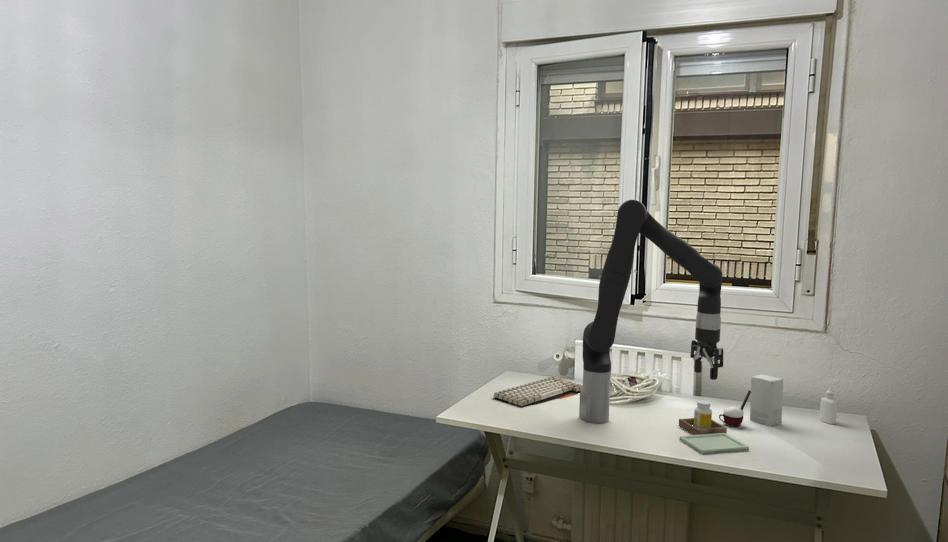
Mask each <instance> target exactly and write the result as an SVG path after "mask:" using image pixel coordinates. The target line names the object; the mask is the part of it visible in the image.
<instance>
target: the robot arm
mask: <svg viewBox="0 0 948 542" xmlns="http://www.w3.org/2000/svg"><path fill="white" fill-rule="evenodd" d="M616 215H617V216H616V223H615V229H614V234H613V238H612V242H611V243H610V247H609V249H608V252H607V255H606V259H605V262H604V264H603V267H602V271H601V275H600V279H599V285H598V296H597V297H598V298H597V299H598V300H597V301H598V302H597V307H596V308H597V309H596V313H595V316H594V319H593V321H592V322H589V323H588V324H587V325H586V326H585V328H584V330H583V334H582V364H583V366H582V367H583V369H582V370H583V371H582V385H583V389H582V390H580V394H579V405H578V406H579V407H578V411H579V412H578V417H579V418H580V419H581V420H583V421H584V422H585V423H592V424H604V423H608V422H609V421H610V402H611V401H610V400H611V399H610V398H611V397H610V396H611V378H612V362H611V354H610V353H611V352H610V351H611V350H610V349H611V348H612V346H613V345H614V342H615V340H616V339H615V338H616V332H617V325H618V320H619V314H620V312H621V309H622V306H623V303H624V299H625V295H626V292H627V290H628V287H629V283H630V279H631V275H632V270H633V265H634V258H635V247H636V244H637V241H638V237H639V234H640V235H642V236H643V237H645V238H646V239H648V240H649V241H650V242H652V243H653V244H654V245H655V246H656V247H657V248H658V249H659V250H661V251H662V253H664V254H665V255H666V256H667V257H669V258H670V260H672V261H674V262H675V263H676V264H677V265H678V266H680V267H681V268H682V269H684V270H686V271H687V272H688V273H689V274H690V275H691V276H692V277H693V278H694V279H695V280H696V281H697V282H698V283H699V285H698V287H699V288H698V289H699V290H698V292H699V294H698V299H697V307H696V308H697V309H696V312H697V313H696V317H695V331H694V333H695V335H694V339H693V340H691V343H690V344H691V345H690V354H689V355H690V358H691V359H693V361H694V365H693V368H694V369H693V372H694V373H695V374H698V373H699V374H701V373H702V370H703V369H702V366H703V365H702V364H703V358H705V359H706V361H707V362H708V364H709V367H710V369H709V379H710V380H711V381H713V380H714V381H716V380H717V379H718V375H719V369H720V368H724V349H723V348H720V347H717V344H718V343H719V342H720V341H721V325H722V317H721V313H722V312H721V309H722V308H721V307H722V303H721V302H722V300H721V299H722V298H721V295H722V294H721V292H722V285H723V284H722V282H723V270H722V269H721V267H719V265H717V264H714V263H711V262H710V260H708V259H706V258H705V257H704V256H702V255H701V253H700V252H699V251H698V250H697V249H696V248H695V247H693V246H692V245H691V244H690V243H687V242H686V241H685V240H684V239H683V238H681V237H680V236H678V235H676V234H675V233H674V232H672V231H670V230H669V229H668V228H666V227H665V226H663V224H661V223H660V222H659V221H658V220H657V219H655V218H654V216H653V215H652V214H651V213H650V212H649V211H648V210H647V207H646V206H645V205H644V203H642V201H640V200H637V199H628V200H625V201H624V202H623V203H621V204H620V205H619V207H618V210H617V214H616Z"/></svg>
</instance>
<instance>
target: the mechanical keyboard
mask: <svg viewBox="0 0 948 542" xmlns="http://www.w3.org/2000/svg"><path fill="white" fill-rule="evenodd" d="M582 389H583V384H582V383H577V382H576V381H575V382H574V381H573V382H572V381H571V380H568V379H563V378H562V377H557V376H551V377H547V378H543V379H540V380H536V381H532V382H528V383H524V384H520V385H516V386H513V387H511V388H507V389H503V390H498V391H494V392H493V393H494V394H493V398H492V400H495V401H498V402H501V403H503V404H504V403H505V404H508V405H510V406H511V405H512V406H515V407H520V408H525V407H530V406H536V405H540V404H544V403H547V402H551V401H555V400H562V399H567V398H570V397H573V396H575V395H579V394H578V393H580V390H582Z"/></svg>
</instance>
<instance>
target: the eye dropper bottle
mask: <svg viewBox="0 0 948 542" xmlns="http://www.w3.org/2000/svg"><path fill="white" fill-rule="evenodd" d="M834 394H835V393H834V391H833V390H832V387H828V390H826V391H825V396H824V397H822V398H821V399H820V405H819V407H820V408H819V421H821V422H823V423H826V424H828V425H836V424H837V416H838V415H837V413H838V401H836V399H834V396H835V395H834Z"/></svg>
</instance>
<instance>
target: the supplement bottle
mask: <svg viewBox="0 0 948 542" xmlns="http://www.w3.org/2000/svg"><path fill="white" fill-rule="evenodd" d="M696 405H697V406H696V407H695V408H694V410H693V411H694V413H693V418H694V425H693V426H694V427H696V428H698V429H704V428H711V419H712V418H713V411H712V409H711V402H710V401H707V400H698V401H697V404H696ZM712 420H713V419H712Z"/></svg>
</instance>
